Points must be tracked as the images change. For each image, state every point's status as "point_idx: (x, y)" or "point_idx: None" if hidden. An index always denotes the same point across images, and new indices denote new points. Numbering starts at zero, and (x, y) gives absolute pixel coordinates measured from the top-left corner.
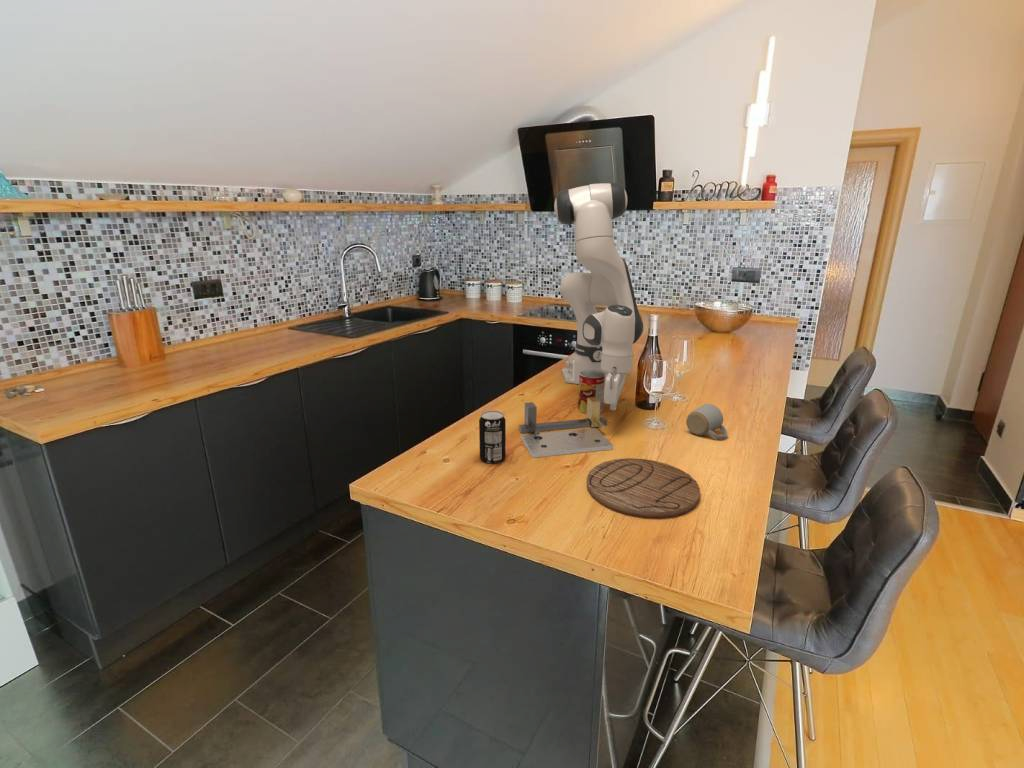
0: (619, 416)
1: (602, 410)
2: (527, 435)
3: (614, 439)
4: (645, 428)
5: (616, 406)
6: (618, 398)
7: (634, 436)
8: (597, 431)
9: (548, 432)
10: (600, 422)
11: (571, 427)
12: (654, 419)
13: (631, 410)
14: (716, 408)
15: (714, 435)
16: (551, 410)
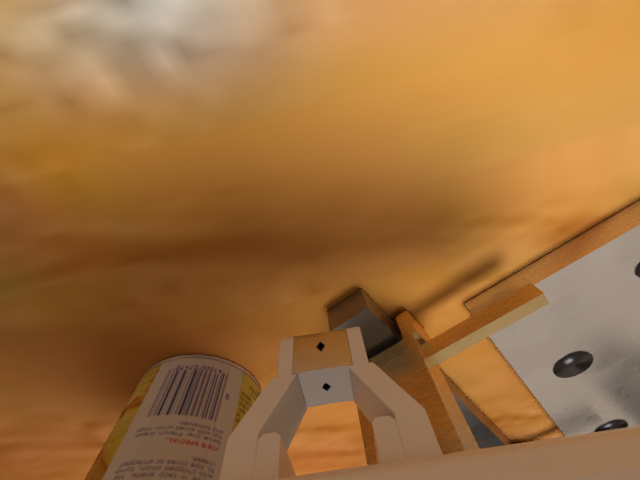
0: (194, 271)
1: (184, 359)
2: None
3: (547, 200)
4: (304, 55)
5: (337, 343)
6: (598, 447)
7: (481, 98)
8: None
9: (557, 424)
10: (490, 326)
11: (454, 386)
12: (62, 25)
13: (39, 240)
14: None
15: None
16: (299, 470)
